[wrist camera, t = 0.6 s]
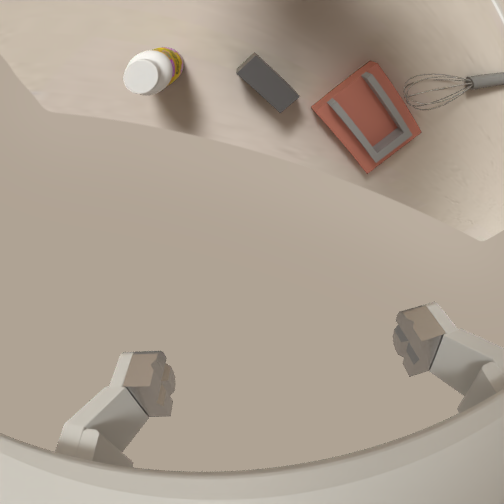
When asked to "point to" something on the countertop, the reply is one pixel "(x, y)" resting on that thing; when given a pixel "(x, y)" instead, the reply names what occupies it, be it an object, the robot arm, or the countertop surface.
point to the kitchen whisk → (471, 83)
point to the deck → (368, 116)
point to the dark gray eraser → (267, 82)
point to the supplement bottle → (153, 70)
